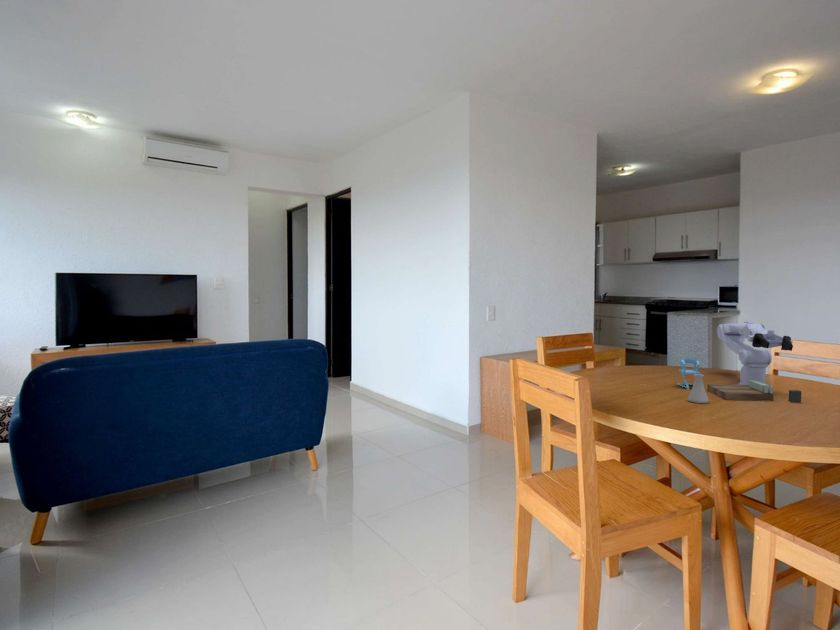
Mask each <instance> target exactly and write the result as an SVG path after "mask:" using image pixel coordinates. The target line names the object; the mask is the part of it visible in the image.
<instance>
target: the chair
mask: <svg viewBox="0 0 840 630" xmlns="http://www.w3.org/2000/svg"><path fill="white" fill-rule="evenodd" d="M679 363H680V366H681V367H680V368H679V369H678V370H679V372H680V374H681V376H682V378H683V382H684V383H683V382H677V383H676V386H678V385H680V386H682V387H681V388H683V387H685V388H687V389H686V390H690V386H689V385H694V383H690V382H688V381H687V378H686V376H685V375H694V374H701V372H700V371H699V368H700V361H699V360H696V359H695V358H694V359H693V358H683V359H681V360H680V361H679ZM686 364H692V365H693V366H692V368H693V369H687V367H686ZM685 385H686V386H685ZM680 386H679V387H680ZM685 388H684V389H685Z"/></svg>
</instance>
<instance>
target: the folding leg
mask: <svg viewBox="0 0 840 630" xmlns="http://www.w3.org/2000/svg"><path fill="white" fill-rule="evenodd" d="M749 387H751V388H754V389H756V390H759V391H761V392H764V393H772V394H774V391H773V390H774V386H773V385H770V384H767V383H766V382H765V383H762V382H759V381H756V380H750V383H749Z"/></svg>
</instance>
